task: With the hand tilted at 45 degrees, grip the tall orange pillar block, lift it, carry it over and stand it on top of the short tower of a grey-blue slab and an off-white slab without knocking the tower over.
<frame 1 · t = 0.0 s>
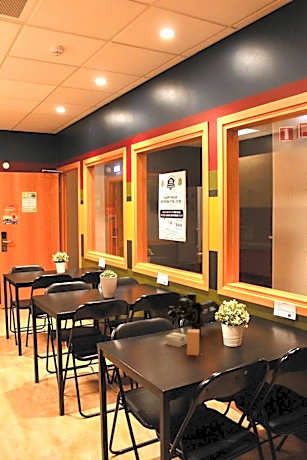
hand: (174, 316, 235), 16 cm above the table, tool horizontal, fingers open, 9 cm apart
tower base slab: (176, 344, 240), on the table, touching tower top slab
tower top slab: (176, 339, 239), point 2 cm above the table, touching tower base slab
orange pillar block: (192, 353, 223), on the table
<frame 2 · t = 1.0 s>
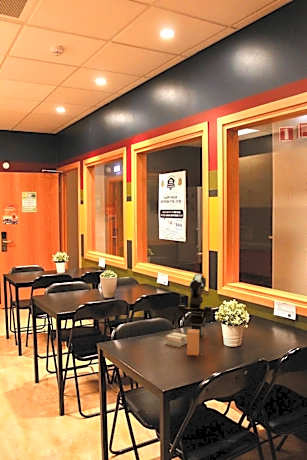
hand: (193, 323, 230), 14 cm above the table, tool tilted 45°, fingers open, 9 cm apart
tower base slab: (176, 344, 240), on the table
tower top slab: (176, 339, 239), point 2 cm above the table
everything else where it was.
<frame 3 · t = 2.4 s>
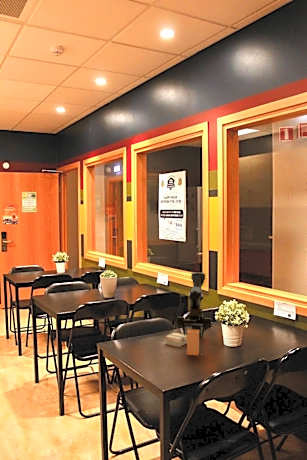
hand: (193, 336, 224), 9 cm above the table, tool tilted 45°, fingers open, 9 cm apart
tower base slab: (176, 344, 240), on the table, touching tower top slab
tower top slab: (176, 340, 239), point 2 cm above the table, touching tower base slab
everything else where it was.
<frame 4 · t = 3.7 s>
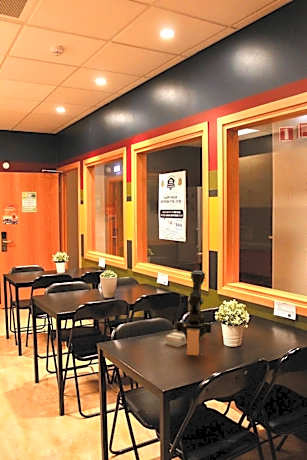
hand: (193, 341, 221), 7 cm above the table, tool tilted 45°, fingers closed on orange pillar block, 6 cm apart
orange pillar block: (192, 353, 223), on the table, touching gripper
everything else where it was.
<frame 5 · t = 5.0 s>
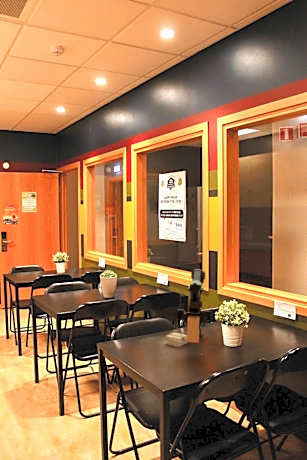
hand: (193, 328, 221), 13 cm above the table, tool tilted 45°, fingers closed on orange pillar block, 6 cm apart
orange pillar block: (193, 340, 223), point 7 cm above the table, touching gripper
everything else where it was.
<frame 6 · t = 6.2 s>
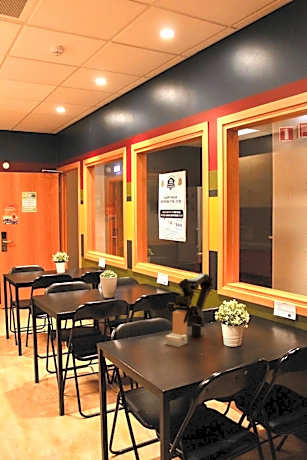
hand: (178, 321, 232), 14 cm above the table, tool tilted 45°, fingers closed on orange pillar block, 6 cm apart
orange pillar block: (179, 333, 234), point 7 cm above the table, touching gripper
everything else where it was.
when the fingers open (13 cm above the table, at t = 8.0 s): orange pillar block stays where it is, point 5 cm above the table.
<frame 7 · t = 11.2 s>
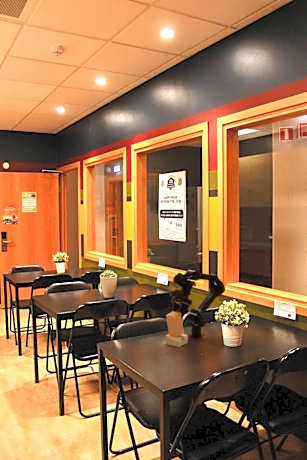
hand: (175, 314, 245), 15 cm above the table, tool tilted 30°, fingers open, 9 cm apart
orange pillar block: (176, 333, 240), point 5 cm above the table, tilted 12°
everything else where it was.
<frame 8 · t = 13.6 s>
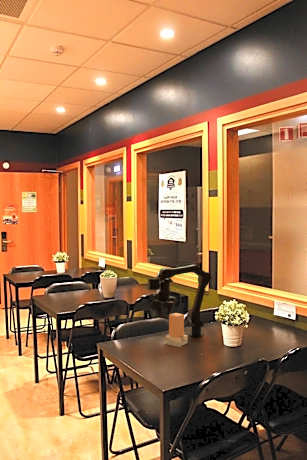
hand: (164, 315, 250), 13 cm above the table, tool pointing down, fingers open, 9 cm apart
tower base slab: (176, 344, 240), on the table
tower top slab: (176, 339, 240), point 2 cm above the table
orange pillar block: (176, 335, 239), point 4 cm above the table
at the end: orange pillar block 0.2 cm off-centre on the tower top slab, point 2.6 cm above the tower top slab's base; orange pillar block tilted 1°; tower top slab 0.1 cm off-centre on the tower base slab, point 2.5 cm above the tower base slab's base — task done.
